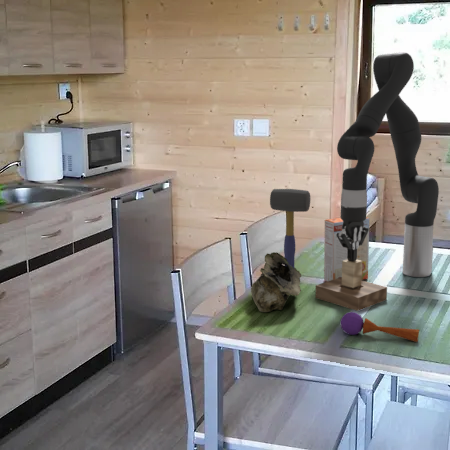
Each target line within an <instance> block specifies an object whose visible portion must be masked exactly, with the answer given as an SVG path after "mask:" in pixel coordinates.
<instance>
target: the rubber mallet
mask: <svg viewBox="0 0 450 450" xmlns="http://www.w3.org/2000/svg"><path fill="white" fill-rule="evenodd" d="M269 195H270V196H269V205H270V208H271V209H272V210H274V211H279V212H281V211H282V212H286V215H285V216H286V218H285V236H284V242H283V243H284V244H283V253H284V258H286V259H287V262H288V264H289V265H290V266H292V267H293V268H296V267H295V255H296V237H295V232H294V231H295V221H294V219H295V216H294V215H295V213H294V212H299V213H301V212H302V213H304V212H308V211H309V210H310V206H311V193H310V191H308V190H306V189H305V190H303V189H297V188H274V189H272V190H271V192H270V194H269ZM284 266H286V265H284Z"/></svg>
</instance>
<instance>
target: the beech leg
mask: <svg viewBox="0 0 450 450" xmlns="http://www.w3.org/2000/svg"><path fill="white" fill-rule="evenodd" d="M362 281H363V280H362V261H361V260H356V261H353V262H352V261H348V259H347V260H344V261H342V285H341V286H342V287H343V288H346V289H349V290H356V289H359V287H361V286H362V285H361V282H362Z"/></svg>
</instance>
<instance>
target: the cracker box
mask: <svg viewBox="0 0 450 450" xmlns="http://www.w3.org/2000/svg"><path fill="white" fill-rule="evenodd" d="M363 222H364V226H365V227H366V228H369V229H370V217H367V216H366V220H365V221H363ZM342 225H343V220H342V219H341V217H336V218H327V219H325V220H324V242H323V243H324V255H323V257H324V259H323V260H324V262H323V265H324V266H323V268H324V269H323V272H324V273H323V276H324V277H323V278H324V279H323V281H324V282H328V281H331V280H334V279H337V278H340V277H342V261H344V260H347V259H348V258H347V255H348V254H347V251H348V250H347V248H344V247H343V246H342V245H341V243H340V241H339V239H338V237H337V233H340V232H341V231H342ZM369 248H370V230H369V231H368V233H367V235H366V237H365V239H364V242H363V244H362V245H361V246H359V247H358V249H357V259H356V260H361V261H362V281H364V280H365V281H366V280H368V279H369V255H370V254H369V251H370V250H369Z"/></svg>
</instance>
